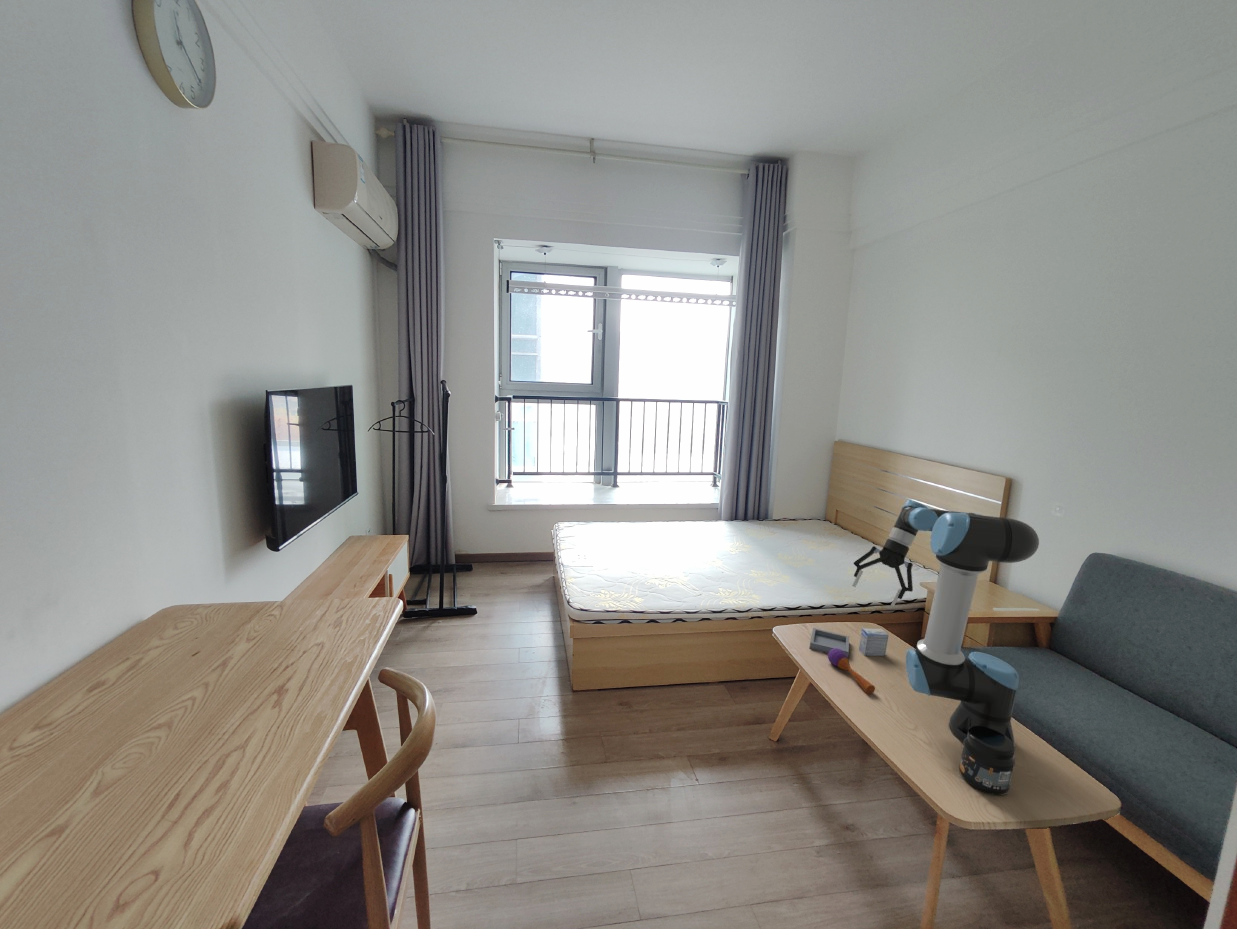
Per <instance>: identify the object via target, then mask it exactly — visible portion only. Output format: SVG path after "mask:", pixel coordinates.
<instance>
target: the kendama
mask: <svg viewBox="0 0 1237 929" xmlns="http://www.w3.org/2000/svg"><path fill="white" fill-rule="evenodd" d="M827 658H828V661H829V662H830V663H831V665H833V666H835V667H837V668H839V669H842V670H844V671H849V673H850V674H851V675H852V677H853V678H854V680H855V681H856V682H857V683H858V685H860V687H861V689H863V690H864V692H865V693H866V694H867V695H871V694H873V693H874V692H875V691H876V687H875V685H874V684H872V683H870V682H869V681H868V680H867V679H865V678H864V677H863V676H861V675H860V674H859V673H857V672H856V671H854V669H852V666H851V665H850V661H849V658H847V657H846V654H845V653H844V652H843V651H842V650H841V649H838V648H834V649H832V650H830V652H829V653H827Z"/></svg>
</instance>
